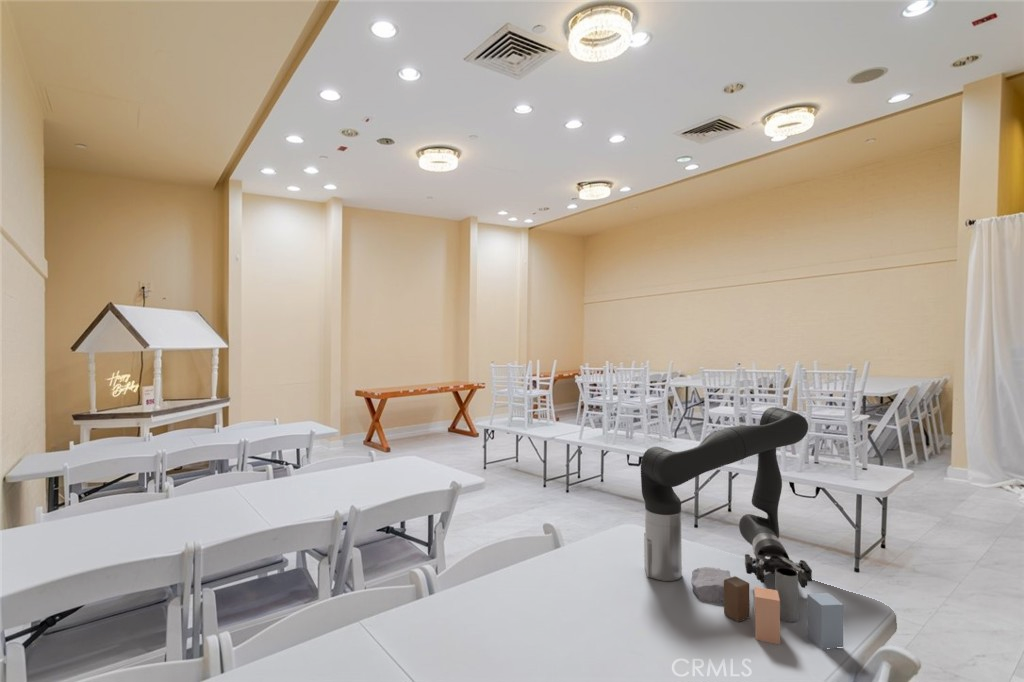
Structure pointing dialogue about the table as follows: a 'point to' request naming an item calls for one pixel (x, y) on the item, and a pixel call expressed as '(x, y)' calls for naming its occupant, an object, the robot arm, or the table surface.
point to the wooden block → (736, 599)
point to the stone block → (709, 583)
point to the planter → (787, 593)
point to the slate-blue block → (825, 620)
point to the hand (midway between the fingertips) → (783, 581)
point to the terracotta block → (767, 615)
